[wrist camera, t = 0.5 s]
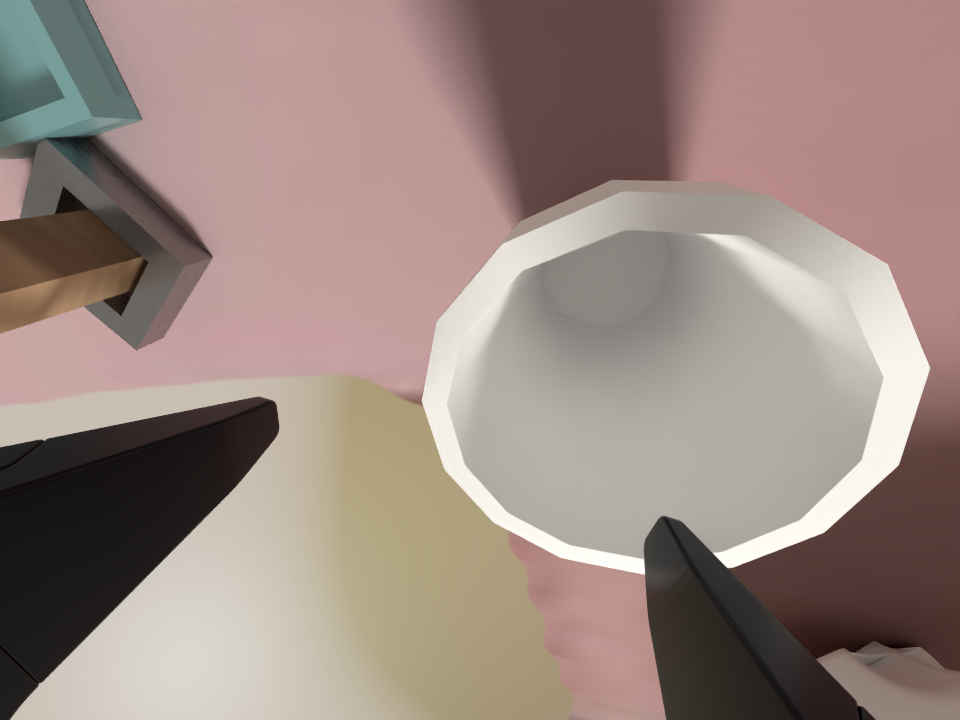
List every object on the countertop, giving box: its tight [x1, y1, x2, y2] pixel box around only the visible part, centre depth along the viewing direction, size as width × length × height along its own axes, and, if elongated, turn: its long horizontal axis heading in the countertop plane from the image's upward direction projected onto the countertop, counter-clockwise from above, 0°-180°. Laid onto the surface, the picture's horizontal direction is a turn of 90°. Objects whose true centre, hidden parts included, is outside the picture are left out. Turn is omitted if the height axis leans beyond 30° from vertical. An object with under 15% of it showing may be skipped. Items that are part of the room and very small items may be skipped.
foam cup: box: [422, 180, 930, 574], centre depth 14 cm, size 10×9×13 cm
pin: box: [0, 210, 149, 334], centre depth 20 cm, size 4×4×13 cm
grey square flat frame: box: [20, 138, 212, 350], centre depth 24 cm, size 9×9×2 cm
